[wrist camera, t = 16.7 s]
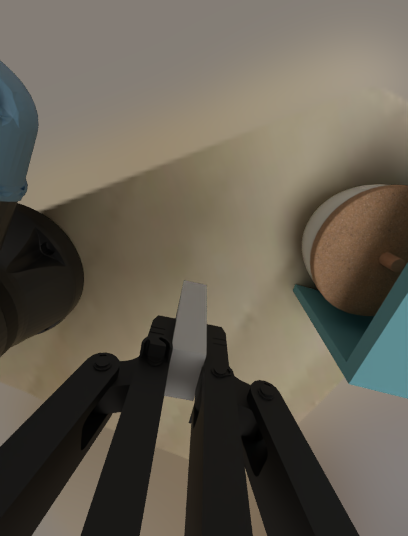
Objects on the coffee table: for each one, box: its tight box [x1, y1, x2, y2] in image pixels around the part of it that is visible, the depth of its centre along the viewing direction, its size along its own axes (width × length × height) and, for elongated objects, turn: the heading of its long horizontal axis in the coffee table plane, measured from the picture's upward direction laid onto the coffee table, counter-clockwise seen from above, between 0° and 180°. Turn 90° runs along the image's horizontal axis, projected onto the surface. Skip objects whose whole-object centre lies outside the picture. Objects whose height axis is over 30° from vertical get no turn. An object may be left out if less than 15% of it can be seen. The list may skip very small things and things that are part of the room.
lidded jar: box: [302, 184, 408, 316], centre depth 24 cm, size 11×11×9 cm
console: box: [293, 263, 408, 398], centre depth 22 cm, size 9×16×14 cm, turn 164°
